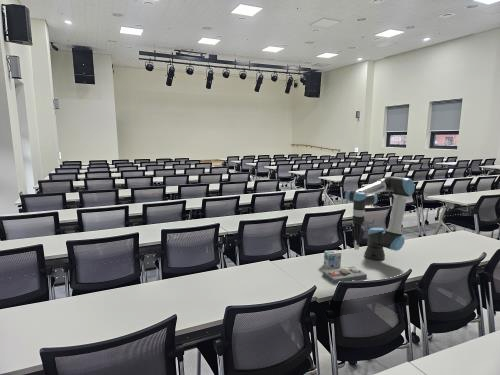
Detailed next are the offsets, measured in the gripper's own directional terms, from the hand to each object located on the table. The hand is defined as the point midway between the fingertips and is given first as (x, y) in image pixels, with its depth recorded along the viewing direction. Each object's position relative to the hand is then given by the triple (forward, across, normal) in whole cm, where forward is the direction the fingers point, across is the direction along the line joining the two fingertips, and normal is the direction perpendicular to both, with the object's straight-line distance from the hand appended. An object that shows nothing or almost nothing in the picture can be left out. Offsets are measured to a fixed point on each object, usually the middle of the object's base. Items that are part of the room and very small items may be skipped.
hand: (356, 249), depth 221 cm
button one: (+17, +1, 0) cm, 17 cm away
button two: (+15, 0, -9) cm, 18 cm away
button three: (+17, 0, -17) cm, 25 cm away
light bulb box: (+19, -18, -6) cm, 27 cm away
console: (+18, 0, -9) cm, 20 cm away
